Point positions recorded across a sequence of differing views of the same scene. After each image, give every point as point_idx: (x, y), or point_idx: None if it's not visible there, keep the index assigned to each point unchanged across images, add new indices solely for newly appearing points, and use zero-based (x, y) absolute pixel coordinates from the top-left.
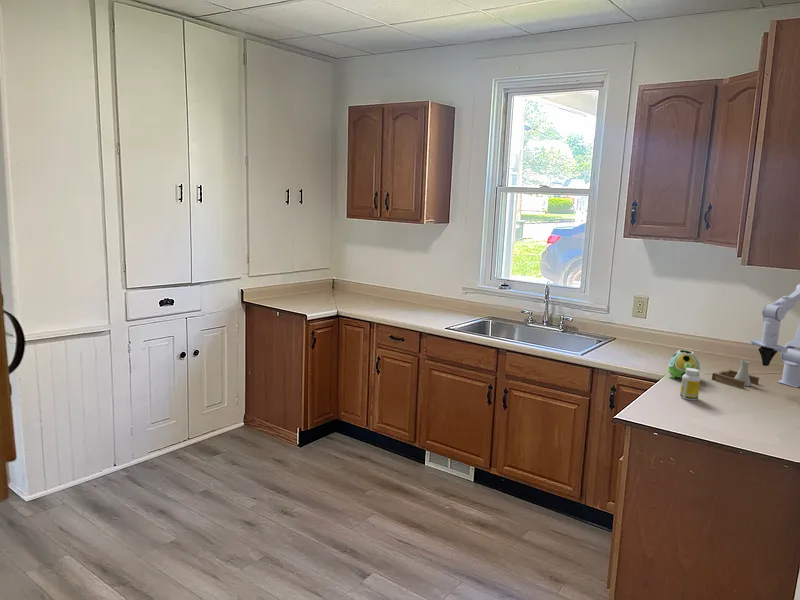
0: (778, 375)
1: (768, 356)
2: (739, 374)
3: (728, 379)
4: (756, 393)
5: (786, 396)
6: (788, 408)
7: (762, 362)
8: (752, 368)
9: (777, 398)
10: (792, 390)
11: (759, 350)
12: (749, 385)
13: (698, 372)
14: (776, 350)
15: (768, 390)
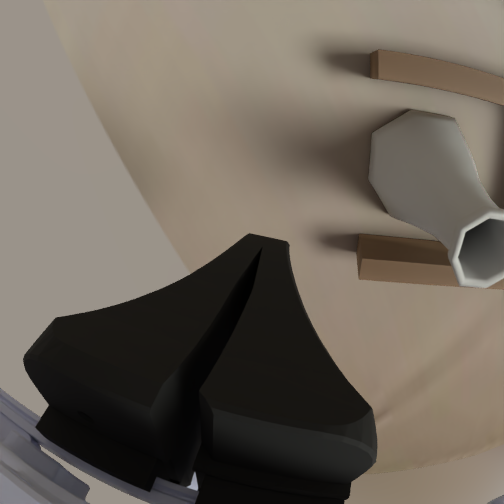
0: None
1: (145, 299)
2: (459, 154)
3: (480, 71)
4: (261, 40)
5: (155, 165)
6: (61, 2)
7: (283, 252)
8: (430, 422)
9: (150, 77)
10: None
11: (337, 397)
12: (371, 157)
13: None
14: (16, 406)
15: (261, 182)
